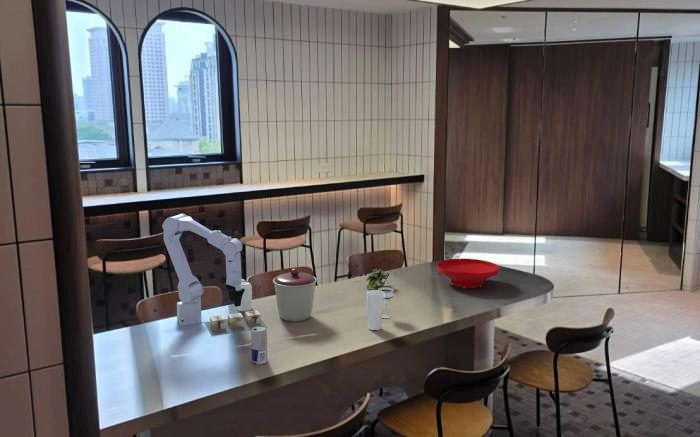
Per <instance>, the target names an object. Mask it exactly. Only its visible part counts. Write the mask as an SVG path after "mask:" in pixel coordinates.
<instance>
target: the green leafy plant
mask: <svg viewBox="0 0 700 437" xmlns="http://www.w3.org/2000/svg"><path fill="white" fill-rule="evenodd" d="M371 271H372V272H371V273H370V274H368V276H367V278H365V282H366V283H367V285H366V289H367V290H368V289H371V288H372V289H373V288H375V287H377V286H378V285H380V287H381V288H382V287H385V283H386V281H387V279H388V278H389V276H390V272H389V271H387V272H386V271H385V270H382V268H374V269H371ZM383 280H384V281H383Z"/></svg>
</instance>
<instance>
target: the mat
mask: <svg viewBox="0 0 700 437" xmlns="http://www.w3.org/2000/svg"><path fill="white" fill-rule="evenodd" d="M260 320H261V324H256V325H249V326H248V324H247V323H246V322H245V316H243V326H242V327H235V328H230V326H229V324H228V318H225V322H226V329H221V330H214V331H213V330H212V328H211V326H210V321H204V322H203V323H204V325H205V327H206V329H207V331H208V332H209V334H210V336H211V337H217V336H223V335H230V334H237V333H243V332H244V333H245V332H251V329H252V328H253V327H255V326H264V327H266V329H268V328H269V327H268V325H266V323H265V322H264V321H263V320H262V318H260Z"/></svg>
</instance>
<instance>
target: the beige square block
mask: <svg viewBox="0 0 700 437" xmlns="http://www.w3.org/2000/svg"><path fill="white" fill-rule="evenodd" d="M225 319H226V318H225V316H224V315H223V314H222V315H220V314H219V315H214V316H213V315H211V316H209V322H210V326H211V328H212V330H213V331H214V330H221V329H226V322H225Z"/></svg>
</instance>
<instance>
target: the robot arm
mask: <svg viewBox="0 0 700 437" xmlns="http://www.w3.org/2000/svg"><path fill="white" fill-rule="evenodd" d="M161 227H162V229H163V242H164V245H165V247H166V249H167V252H168V255H169V257H170V260H171V263H172V264H173V267H174V270H175V273H176V275H177V277H178V285H177V289H178V290H177V291H178V298H179V300H180V301H177V302H176V320H177V322H178V324H179V326H180V327H181V326H186V325H187V326H188V325H194V324H202V323H204V322H205V321H204V319H203V317H202V300H201V299H202V297H201V296H202V295H203V294H204V287H203V284H201V282H200V281H199V279H198V277H196V276H195V275H193V272H192V270H191V267H190V265H189V263H188V259H187V257H186V254H185V252H184V250H183V247H182V245H181V244H182V243H181V241H180V238H181V236H182V235H183V232H186V231H190V232H193V233H194V234H196V235H199V236H201V237H203V238H204V239H206V240H207V242H208V244H210V245H212V246H214V247H216V248H217V249H219V250H221V251H222V253H223V254H224V256H225V271H226V281H225V282H226V283H224V285H225V288H226V291H227V294H228V297H229V300H230V302H233V305H234V307H236V308H237V306H240V305H241V300H242V296H243V293H244V291H245V289H244V288H243V289H241V284H242V282H245V281H246V280H245V279H244V278H242V259H241V258H242V256H241V251H242V250H243V243H242V241H241V240H240V239H238V238H236V237H235V238H232V236H228V235H226V234H224V233H222V230H219V229H218V230H216V229H215V230H211V229H209V228H207V227H206V226H204V225H202V223H201V224H200V223H199V222H198V221H196V220H195V219H193V218H192V216H189V215H187V214H185V213H179V214H178V215H174V216H170V217H169V216H168V217H166V219H165V220H164V221H163V223H162V226H161Z"/></svg>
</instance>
